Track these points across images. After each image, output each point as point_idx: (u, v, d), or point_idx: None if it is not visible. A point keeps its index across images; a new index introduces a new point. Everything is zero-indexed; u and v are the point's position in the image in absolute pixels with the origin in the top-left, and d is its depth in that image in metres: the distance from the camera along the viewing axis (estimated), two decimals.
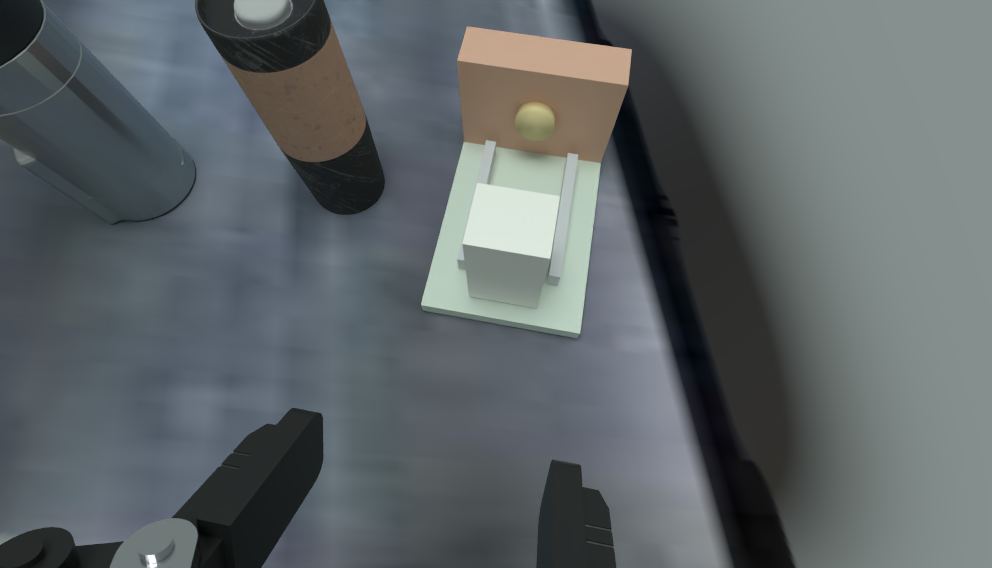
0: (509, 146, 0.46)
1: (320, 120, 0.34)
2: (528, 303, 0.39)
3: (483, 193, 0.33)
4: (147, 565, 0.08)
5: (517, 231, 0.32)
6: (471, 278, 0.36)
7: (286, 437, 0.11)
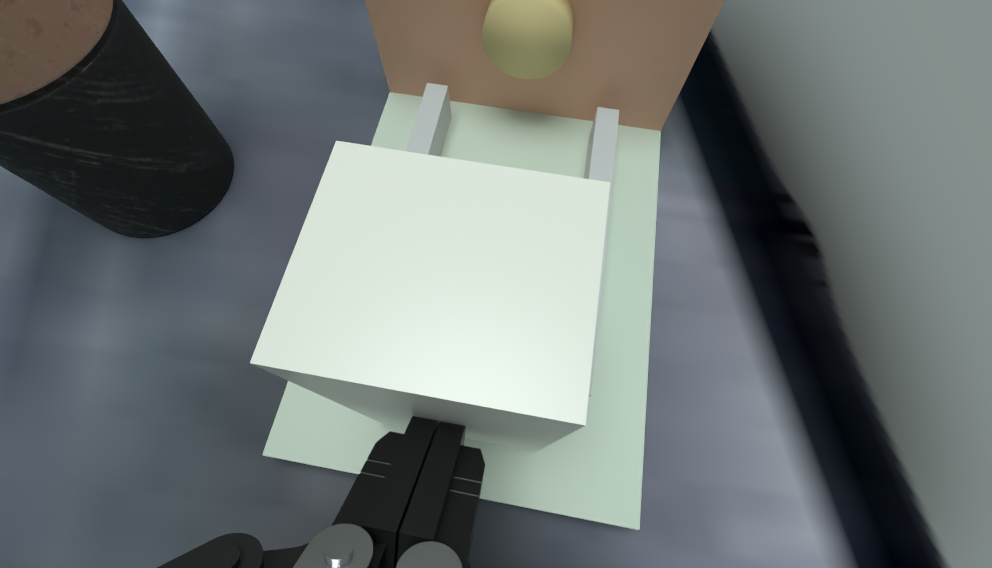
0: (478, 99, 0.23)
1: None
2: (515, 446, 0.16)
3: (353, 175, 0.10)
4: None
5: (461, 310, 0.09)
6: (359, 409, 0.14)
7: (417, 445, 0.11)
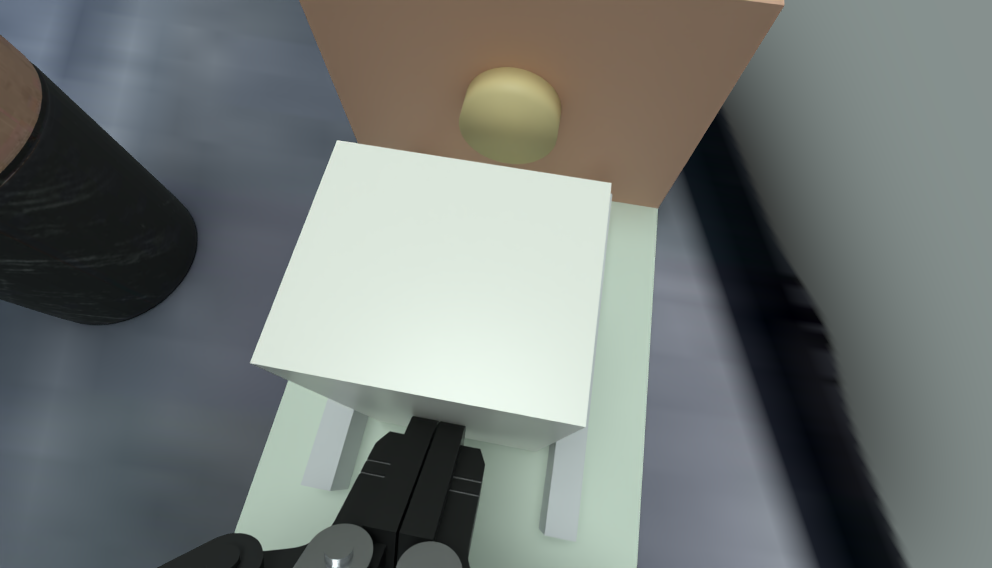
0: None
1: None
2: (515, 446, 0.16)
3: (354, 174, 0.10)
4: None
5: (461, 311, 0.09)
6: (359, 409, 0.14)
7: (418, 445, 0.11)
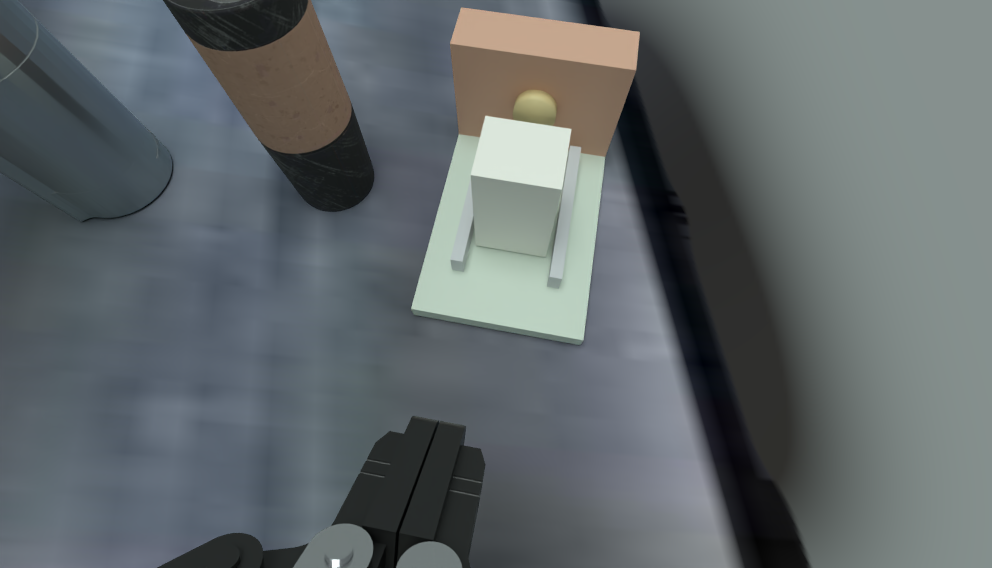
0: None
1: (299, 106, 0.31)
2: (537, 251, 0.38)
3: (492, 126, 0.32)
4: None
5: (527, 163, 0.30)
6: (479, 221, 0.35)
7: (417, 445, 0.11)
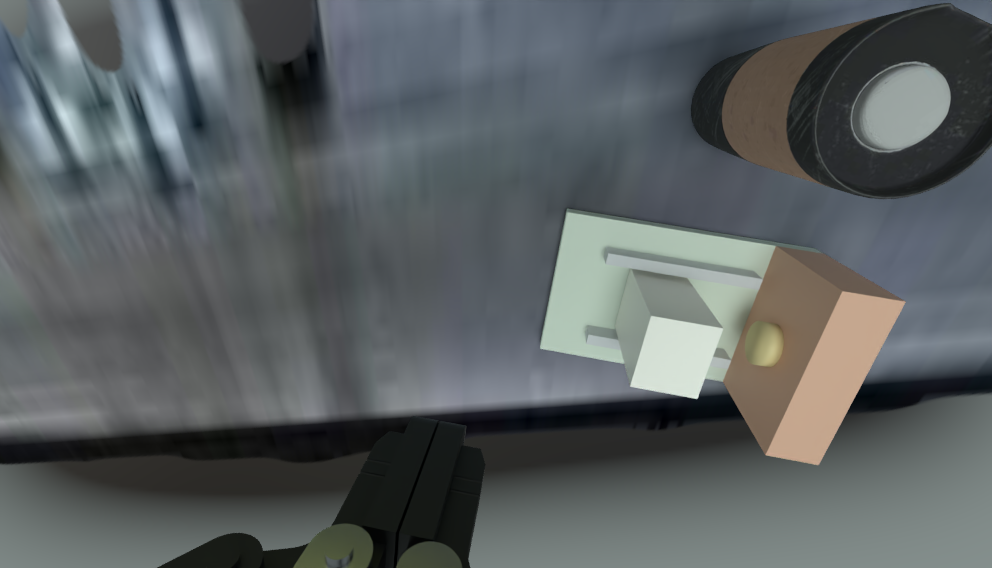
0: (758, 297, 0.41)
1: (752, 145, 0.26)
2: (617, 322, 0.43)
3: (708, 334, 0.32)
4: None
5: (660, 362, 0.34)
6: (636, 289, 0.38)
7: (417, 445, 0.11)
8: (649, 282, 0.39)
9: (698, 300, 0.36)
